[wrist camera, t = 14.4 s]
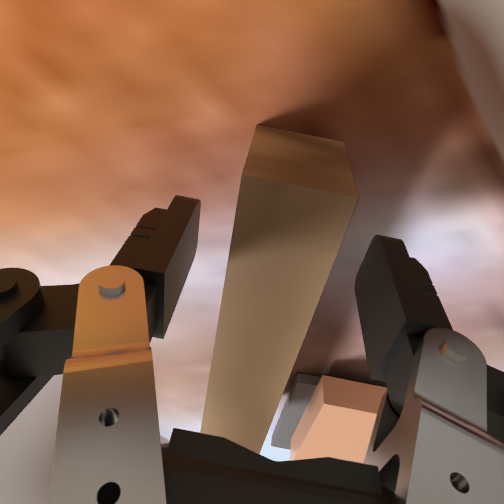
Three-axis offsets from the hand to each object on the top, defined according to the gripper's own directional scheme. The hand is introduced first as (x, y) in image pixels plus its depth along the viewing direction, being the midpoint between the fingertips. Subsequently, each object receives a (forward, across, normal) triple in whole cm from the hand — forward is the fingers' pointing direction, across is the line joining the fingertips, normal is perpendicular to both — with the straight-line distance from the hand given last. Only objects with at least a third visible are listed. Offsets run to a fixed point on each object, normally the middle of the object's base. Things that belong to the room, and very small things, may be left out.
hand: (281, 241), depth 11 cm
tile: (+1, -8, +9) cm, 12 cm away
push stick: (+3, 0, +6) cm, 6 cm away
